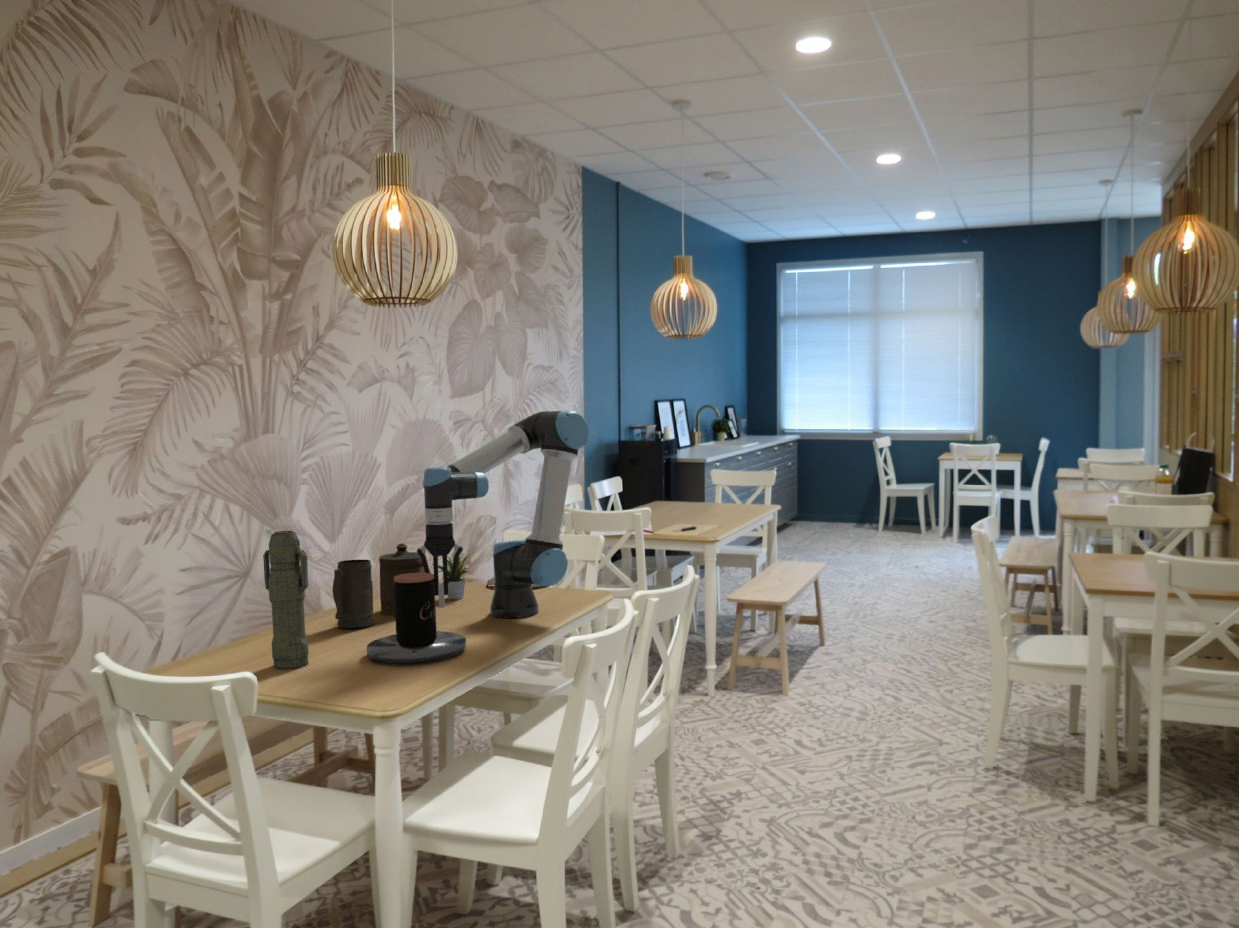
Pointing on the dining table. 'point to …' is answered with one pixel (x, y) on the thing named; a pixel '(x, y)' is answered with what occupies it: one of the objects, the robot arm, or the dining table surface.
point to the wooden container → (396, 566)
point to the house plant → (456, 579)
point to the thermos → (287, 599)
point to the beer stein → (353, 593)
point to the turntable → (416, 649)
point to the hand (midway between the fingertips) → (441, 606)
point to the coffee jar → (415, 609)
